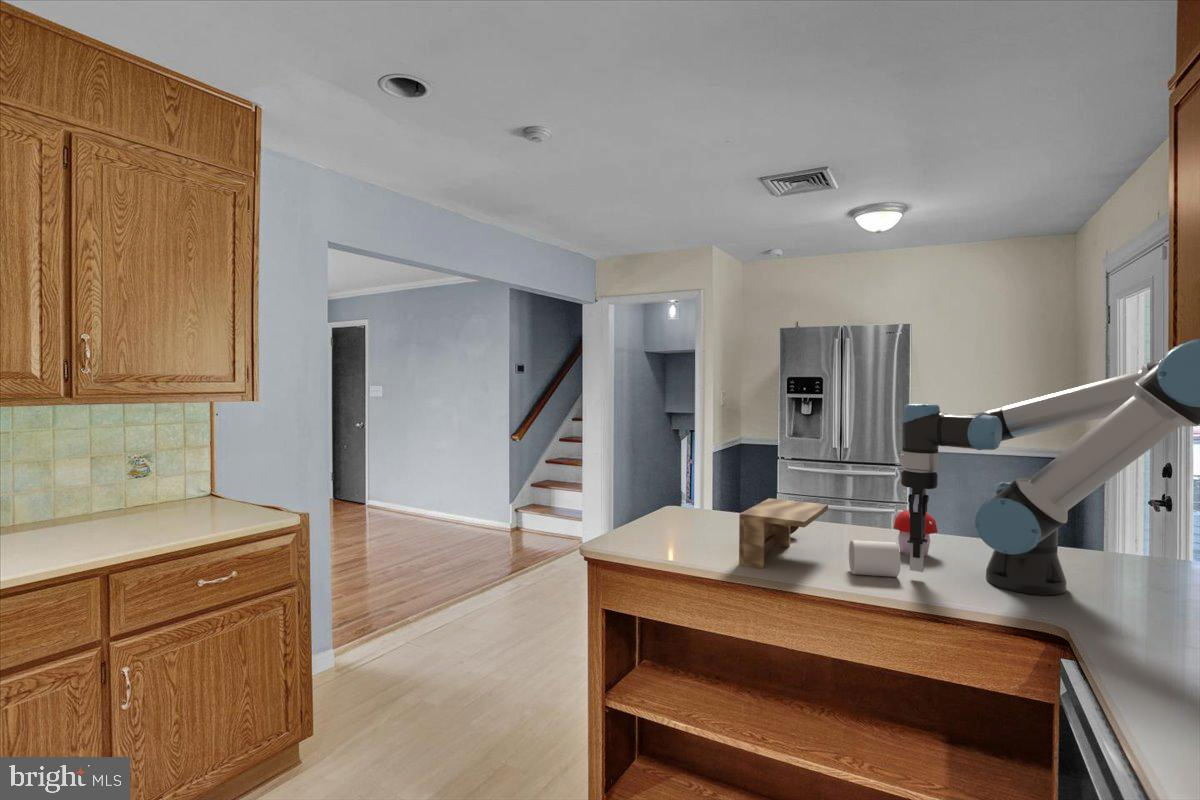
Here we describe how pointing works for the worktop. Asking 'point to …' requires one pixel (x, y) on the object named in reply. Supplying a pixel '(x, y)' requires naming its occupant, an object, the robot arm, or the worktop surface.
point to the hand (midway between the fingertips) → (916, 570)
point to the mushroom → (904, 527)
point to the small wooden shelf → (772, 527)
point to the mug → (874, 558)
